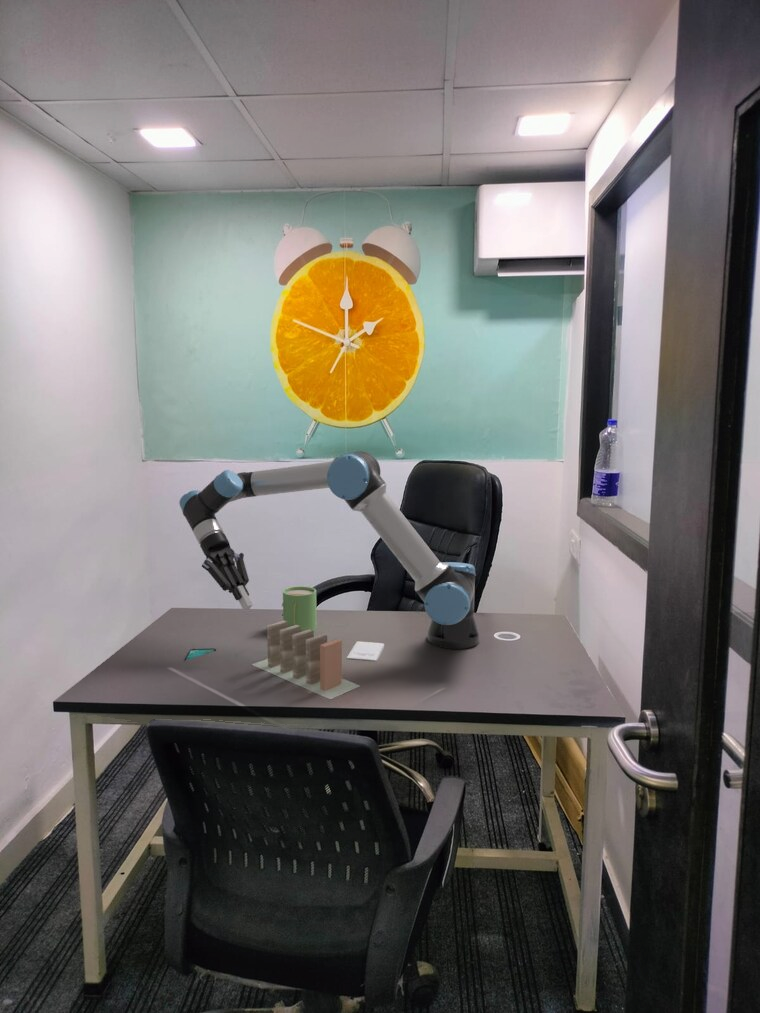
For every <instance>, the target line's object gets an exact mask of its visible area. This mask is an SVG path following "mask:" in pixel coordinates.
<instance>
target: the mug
mask: <svg viewBox="0 0 760 1013" xmlns="http://www.w3.org/2000/svg"><path fill="white" fill-rule="evenodd" d="M281 607H282V614H281V615H282V616H283V617H282V618H283V620H282V621H287V622H288V627H292V626H295V625H299V626H301V632H303V631H306V630H309V629H310V630H313V631H314V632H315V631H317V629H316V628H317V622H318V620H317V589H316V588H315V587H311V586H304V585H303V586H299V585H298V586H290V587H288V588H284V589H283V590H282V604H281Z"/></svg>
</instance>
